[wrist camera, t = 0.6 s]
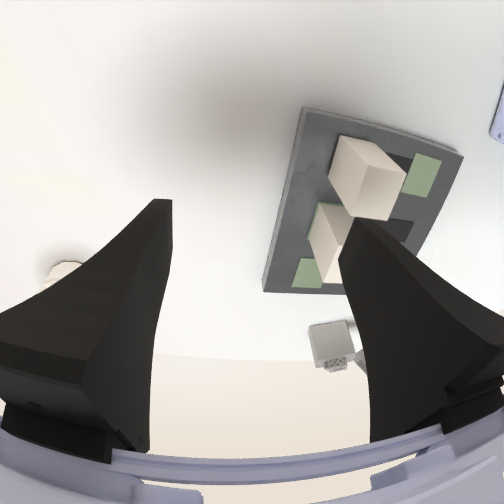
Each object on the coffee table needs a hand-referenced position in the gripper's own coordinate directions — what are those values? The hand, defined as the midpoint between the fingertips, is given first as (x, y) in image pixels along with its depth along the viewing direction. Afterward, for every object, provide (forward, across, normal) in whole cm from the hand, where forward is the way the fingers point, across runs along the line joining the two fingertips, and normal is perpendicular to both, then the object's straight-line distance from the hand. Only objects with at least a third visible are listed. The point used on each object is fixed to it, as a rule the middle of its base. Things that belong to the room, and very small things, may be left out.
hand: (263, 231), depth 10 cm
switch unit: (+10, -10, +5) cm, 15 cm away
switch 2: (+9, -7, 0) cm, 11 cm away
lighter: (+10, -13, +19) cm, 25 cm away
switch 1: (+9, -6, +5) cm, 12 cm away
